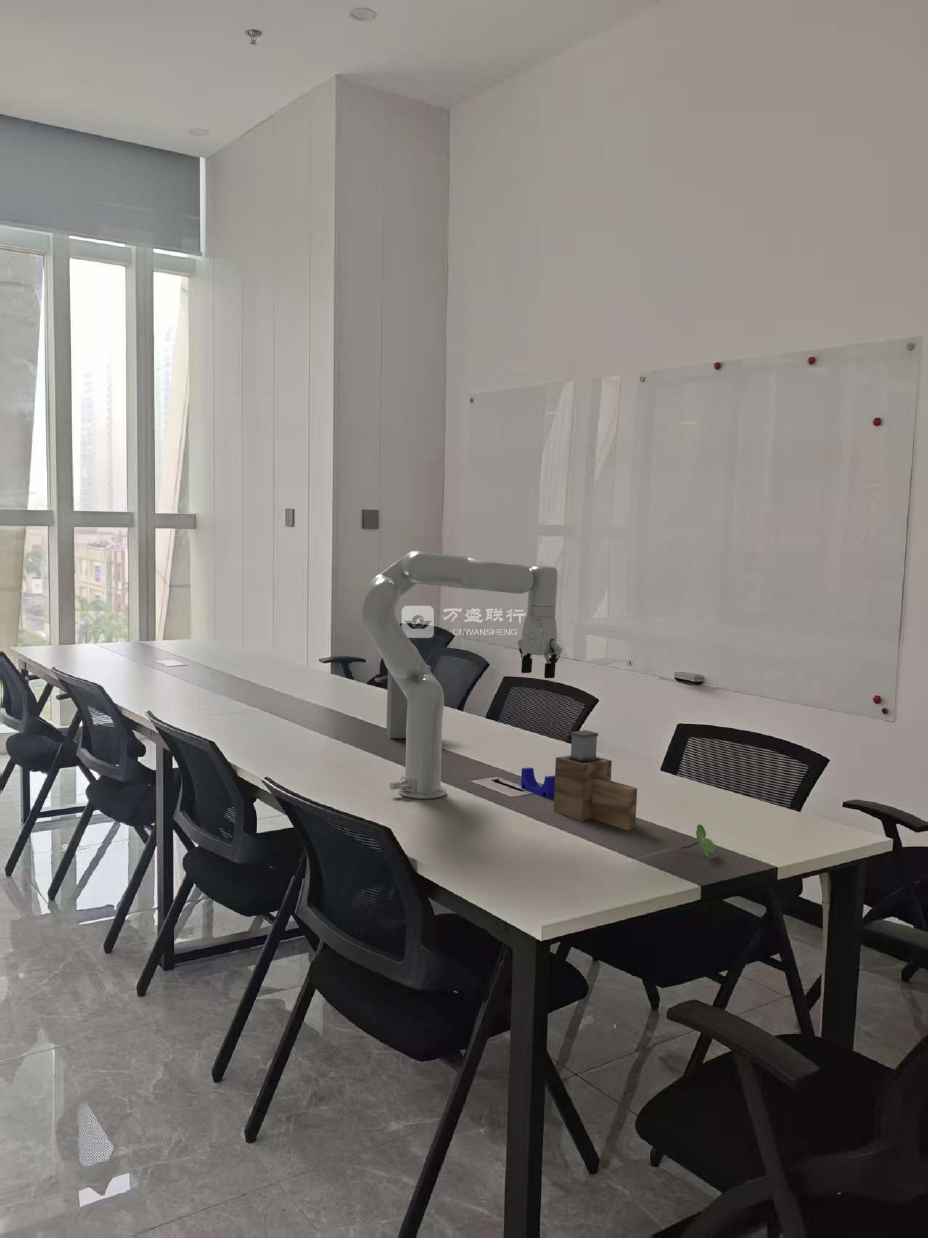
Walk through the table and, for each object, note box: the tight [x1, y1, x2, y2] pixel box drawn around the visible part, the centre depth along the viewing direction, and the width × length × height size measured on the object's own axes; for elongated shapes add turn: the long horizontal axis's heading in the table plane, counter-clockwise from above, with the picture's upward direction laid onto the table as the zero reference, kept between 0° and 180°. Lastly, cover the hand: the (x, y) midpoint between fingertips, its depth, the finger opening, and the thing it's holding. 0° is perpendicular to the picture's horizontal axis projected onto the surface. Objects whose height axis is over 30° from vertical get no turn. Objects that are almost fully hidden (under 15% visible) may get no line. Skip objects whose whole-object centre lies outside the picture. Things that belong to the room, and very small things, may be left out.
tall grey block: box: [385, 664, 432, 739], centre depth 345 cm, size 14×6×25 cm, turn 108°
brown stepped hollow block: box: [553, 754, 638, 831], centre depth 257 cm, size 10×22×14 cm, turn 38°
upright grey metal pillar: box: [570, 729, 599, 763], centre depth 261 cm, size 5×4×11 cm
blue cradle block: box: [520, 766, 555, 799], centre depth 281 cm, size 12×4×6 cm, turn 33°
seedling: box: [679, 824, 716, 857], centre depth 233 cm, size 7×8×7 cm
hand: (537, 675), depth 277 cm, fingers open, 9 cm apart
